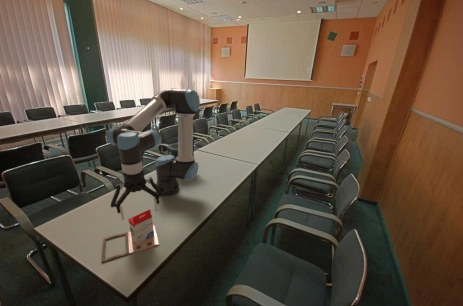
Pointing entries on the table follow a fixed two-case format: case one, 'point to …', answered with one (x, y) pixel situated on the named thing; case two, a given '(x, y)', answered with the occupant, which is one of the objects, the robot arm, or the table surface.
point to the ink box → (141, 226)
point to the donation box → (176, 149)
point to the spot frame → (116, 255)
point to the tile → (142, 243)
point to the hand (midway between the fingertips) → (140, 213)
